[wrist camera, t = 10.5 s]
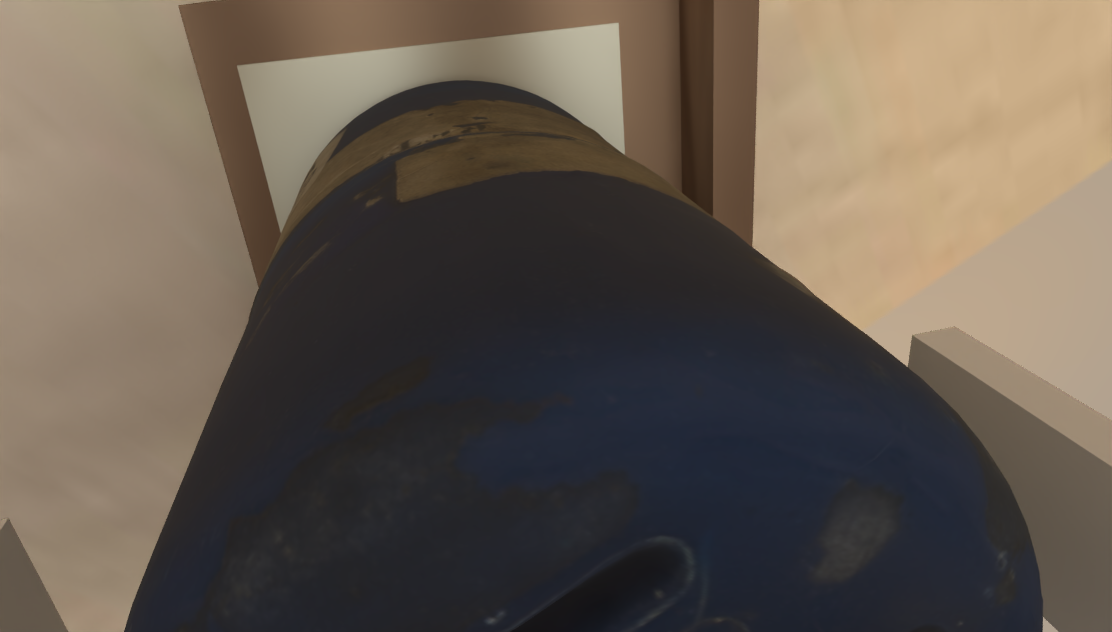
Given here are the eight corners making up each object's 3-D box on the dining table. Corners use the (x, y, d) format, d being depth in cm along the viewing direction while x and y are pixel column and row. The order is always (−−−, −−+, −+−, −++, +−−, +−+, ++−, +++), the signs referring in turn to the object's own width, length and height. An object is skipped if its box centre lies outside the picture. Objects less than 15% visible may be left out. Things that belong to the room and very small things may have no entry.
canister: (657, 309, 24) (1202, 968, 8) (388, 428, 24) (402, 1355, 8) (555, 13, 20) (1302, 172, 4) (224, 154, 19) (-511, 986, 3)
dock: (318, 421, 27) (304, 519, 22) (204, 1, 21) (150, 9, 16) (686, 353, 29) (747, 428, 24) (680, -46, 23) (760, -52, 18)
